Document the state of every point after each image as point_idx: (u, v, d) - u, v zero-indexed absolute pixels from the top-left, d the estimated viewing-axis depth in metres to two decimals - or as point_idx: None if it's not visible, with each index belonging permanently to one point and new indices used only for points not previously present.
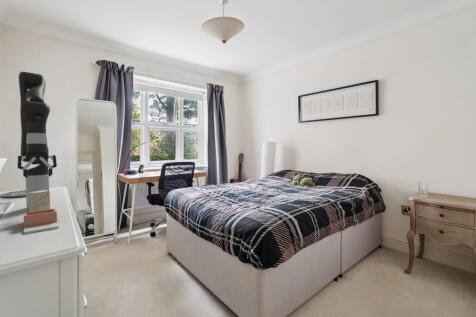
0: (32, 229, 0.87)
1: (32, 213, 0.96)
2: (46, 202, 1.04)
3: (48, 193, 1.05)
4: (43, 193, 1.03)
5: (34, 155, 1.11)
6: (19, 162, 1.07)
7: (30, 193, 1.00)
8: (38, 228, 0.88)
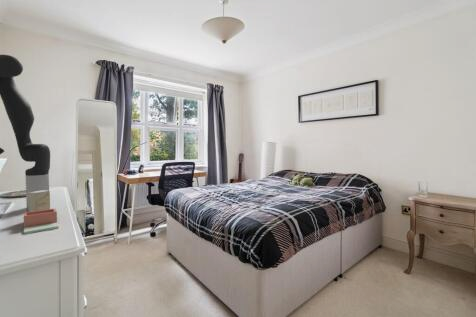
0: (32, 229, 0.87)
1: (32, 213, 0.96)
2: (46, 202, 1.04)
3: (48, 193, 1.05)
4: (43, 193, 1.03)
5: None
6: None
7: (30, 193, 1.00)
8: (38, 228, 0.88)
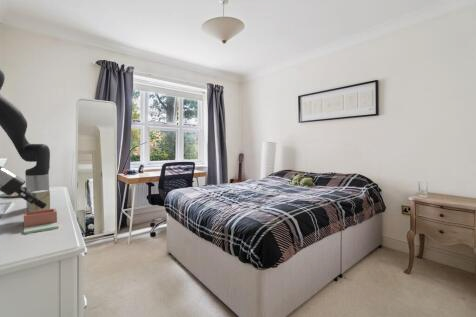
0: (32, 229, 0.87)
1: (32, 213, 0.96)
2: (46, 202, 1.04)
3: (48, 193, 1.05)
4: (43, 193, 1.03)
5: None
6: None
7: None
8: (38, 228, 0.88)
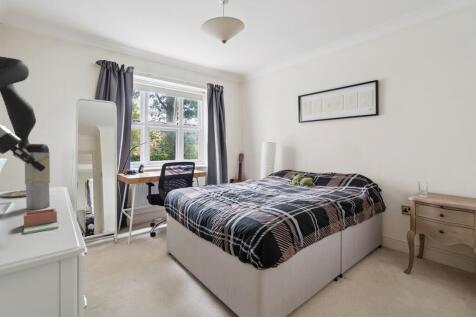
0: (32, 229, 0.87)
1: (32, 213, 0.96)
2: (45, 165, 0.91)
3: (48, 156, 0.92)
4: (42, 154, 0.89)
5: None
6: None
7: None
8: (38, 228, 0.88)
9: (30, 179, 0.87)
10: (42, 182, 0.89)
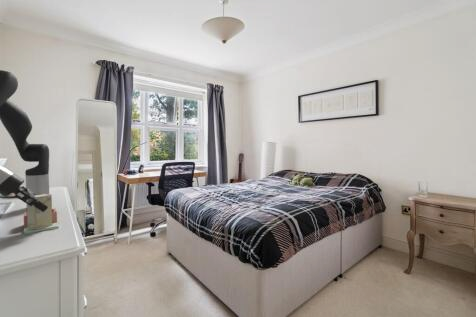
0: (32, 229, 0.87)
1: None
2: (47, 208, 0.90)
3: (50, 198, 0.91)
4: (44, 198, 0.89)
5: None
6: None
7: None
8: None
9: (32, 224, 0.86)
10: (44, 225, 0.89)
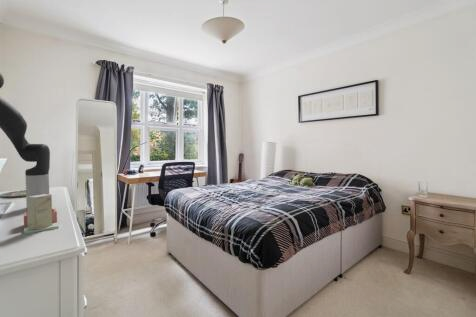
0: (32, 229, 0.87)
1: None
2: (47, 208, 0.90)
3: (50, 198, 0.91)
4: (44, 198, 0.89)
5: None
6: None
7: (29, 198, 0.87)
8: None
9: (32, 224, 0.86)
10: (44, 225, 0.89)
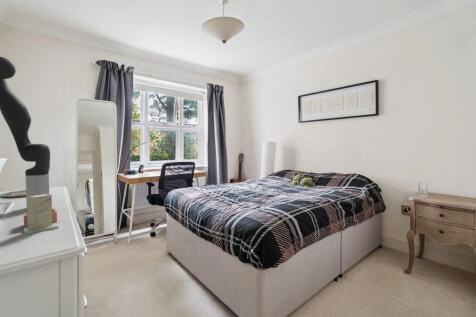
0: (32, 229, 0.87)
1: None
2: (47, 208, 0.90)
3: (50, 198, 0.91)
4: (44, 198, 0.89)
5: None
6: None
7: (29, 198, 0.87)
8: None
9: (32, 224, 0.86)
10: (44, 225, 0.89)
